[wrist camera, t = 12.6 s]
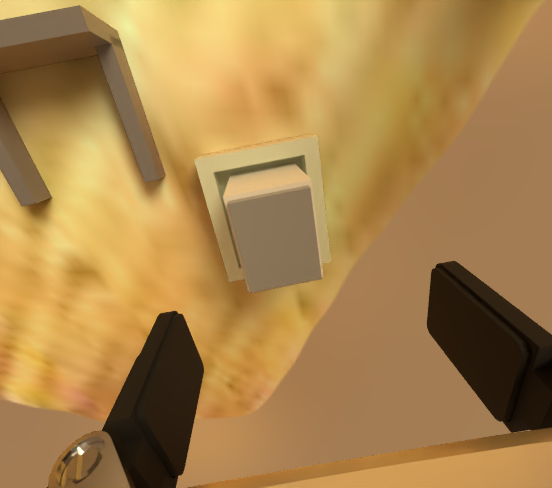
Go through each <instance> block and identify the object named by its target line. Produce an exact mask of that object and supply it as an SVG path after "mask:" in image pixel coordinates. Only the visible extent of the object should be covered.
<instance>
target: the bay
mask: <svg viewBox="0 0 552 488" xmlns="http://www.w3.org/2000/svg"><path fill="white" fill-rule="evenodd" d="M95 55H98V58H99V60H100V63H101V66H102V68H103V71H104V74H105V77H106V79H107V82H108V85H109V87H110V90H111V93H112V95H113V98H114V101H115V104H116V106H117V109H118V112H119V114H120V117H121V120H122V122H123V125H124V128H125V131H126V133H127V136H128V139H129V141H130V144H131V147H132V149H133V152H134V155H135V158H136V160H137V163H138V166H139V168H140V171H141V174H142V176H143V179H144V182H149V181H155V180H159V179H161V178H162V177H164V176H165V172H164V169H163V166H162V163H161V160H160V157H159V154H158V151H157V148H156V145H155V142H154V139H153V136H152V133H151V130H150V127H149V124H148V121H147V118H146V115H145V112H144V109H143V106H142V103H141V100H140V97H139V94H138V91H137V88H136V85H135V82H134V79H133V76H132V73H131V70H130V67H129V65H128V62H127V59H126V56H125V53H124V50H123V47H122V44H121V41H120V38H119V35H118V32H117V30H115V29H114V28H112V27H111V26H109V25H108V24H106V23H105V22H104V21H102V20H101V19H99V18H98V17H96V16H95V15H93V14H92V13H90V12H89V11H87V10H86V9H84V8H83V7H81V6H80V5H79V6H74V7H69V8H63V9H58V10H53V11H47V12H42V13H37V14H31V15H26V16H21V17H15V18H10V19H5V20H0V73H5V72H11V71H16V70H21V69H26V68H32V67H37V66H42V65H48V64H53V63H58V62H64V61H69V60H74V59H79V58H85V57H90V56H95ZM0 169H1V171H2V173H3V175H4V176H5V178H6V180H7V182H8V183H9V185H10V187H11V189H12V190H13V192H14V194H15V196H16V197H17V199H18V201H19V203H20V204H21V206H26V205H31V204H36V203H39V202H41V201H44V200H46V199H49V198H51V195H50V193H49V191H48V189H47V187H46V185H45V183H44V181H43V180H42V178H41V176H40V174H39V172H38V170H37V168H36V166H35V164H34V162H33V160H32V158H31V156H30V155H29V153H28V151H27V149H26V147H25V145H24V143H23V141H22V139H21V137H20V135H19V133H18V131H17V130H16V128H15V126H14V124H13V122H12V120H11V118H10V116H9V114H8V112H7V110H6V108H5V107H4V105H3V103H2V101H1V99H0Z"/></svg>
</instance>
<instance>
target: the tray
mask: <svg viewBox="0 0 552 488" xmlns="http://www.w3.org/2000/svg"><path fill="white" fill-rule="evenodd" d="M194 162H195V165H196V169H197V172H198V176H199V179H200V183H201V186H202V190H203V193H204V196H205V200H206V203H207V207H208V210H209V214H210V217H211V221H212V224H213V228H214V231H215V235H216V238H217V242H218V245H219V249H220V252H221V256H222V259H223V263H224V266H225V270H226V273H227V277H228V280H229V282H233V281H238V280H243V279H244V276H243V272H242V268H241V264H240V260H239V257H238V253H237V249H236V245H235V241H234V237H233V234H232V230H231V226H230V222H229V218H228V215H227V211H226V207H225V203H224V199H223V195H224V192H225V189H226V186H227V183H228V180H229V177H230V174H235V173H240V172H245V171H250V170H255V169H260V168H265V167H271V166H276V165H281V164H286V163H291V162H293V163H295V164H296V165H297V166H298V167H299V168H300V169H301V170H302V171H303V172H304V173H305V174H306V175H307V176H308V177H309V178H310V179H311V180H312V188H313V196H314V204H315V212H316V220H317V228H318V236H319V244H320V252H321V260H322V264H324V263H329V262H331V257H330V247H329V238H328V228H327V219H326V209H325V200H324V190H323V181H322V171H321V162H320V152H319V143H318V136H316V135H312V134H307V135H302V136H296V137H291V138H286V139H281V140H276V141H271V142H265V143H260V144H255V145H250V146H245V147H240V148H234V149H229V150H224V151H219V152H214V153H209V154H203V155H200V156H199V157H197V158H196V159H194Z"/></svg>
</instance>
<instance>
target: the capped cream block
mask: <svg viewBox="0 0 552 488" xmlns="http://www.w3.org/2000/svg"><path fill="white" fill-rule="evenodd" d="M223 199H224V203H225V207H226V211H227V215H228V218H229V222H230V226H231V230H232V234H233V237H234V241H235V245H236V249H237V253H238V257H239V260H240V264H241V268H242V272H243V276H244V279H245V283H246V287H247V291H248V292H250V293H254V292H259V291H264V290H269V289H274V288H279V287H284V286H289V285H294V284H299V283H304V282H309V281H314V280H319V279H322V277H323V269H322V260H321V252H320V244H319V236H318V228H317V220H316V212H315V204H314V196H313V188H312V180H311V179H310V178H309V177H308V176H307V175H306V174H305V173H304V172H303V171H302V170H301V169H300V168H299V167H298V166H297V165H296V164H295V163H293V162H291V163H286V164H281V165H276V166H271V167H265V168H260V169H255V170H250V171H245V172H240V173H235V174H230V177H229V180H228V183H227V186H226V189H225V192H224V195H223Z"/></svg>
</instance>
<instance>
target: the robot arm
mask: <svg viewBox="0 0 552 488" xmlns="http://www.w3.org/2000/svg"><path fill="white" fill-rule="evenodd" d="M430 283H431V284H430V294H429V306H428V317H427V328H428V331H429V333H430V334H431V336H432V337H433V338H434V340H435V341H436V342H437V344H438V345H439V346H440V347H441V349H442V350H443V351H444V353H445V354H446V355H447V357H448V358H449V359H450V361H451V362H452V363H453V364H454V366H455V367H456V368H457V369H458V371H459V372H460V374H461V375H462V376H463V377H464V379H465V380H466V381H467V383H468V384H469V385H470V386H471V388H472V389H473V390H474V391H475V393H476V394H477V396H478V397H479V398H480V399H481V401H482V402H483V403H484V405H485V406H486V407H487V409H488V410H489V411H490V413H491V414H492V415H493V416H494V418H495V419H497V420H498V421H500V422H501V421H503V423H504V424H505V425H506V427H508V429H509V430H510V432H512V433H510V434H503V435H496V436H490V437H483V438H477V439H471V440H465V441H458V442H452V443H446V444H440V445H434V446H428V447H421V448H415V449H409V450H403V451H397V452H391V453H385V454H379V455H372V456H366V457H360V458H354V459H349V460H342V461H336V462H331V463H325V464H319V465H313V466H307V467H301V468H295V469H290V470H283V471H278V472H272V473H266V474H260V475H254V476H249V477H243V478H237V479H231V480H225V481H220V482H215V483H209V484H204V485H199V486H194V487H188V488H552V335H551V334H550V333H548V332H547V331H546V330H545V329H543V328H542V327H541V326H539V325H538V324H537V323H535V322H534V321H533V320H532V319H530V318H529V317H528V316H526V315H525V314H524V313H523V312H521V311H520V310H519V309H517V308H516V307H515V306H513V305H512V304H511V303H509V302H508V301H507V300H506V299H504V298H503V297H502V296H500V295H499V294H498V293H497V292H495V291H494V290H493V289H491V288H490V287H489V286H487V285H486V284H485V283H484V282H482V281H481V280H480V279H478V278H477V277H476V276H474V275H473V274H472V273H471V272H469V271H468V270H467V269H465V268H464V267H463V266H461V265H460V264H459V263H457V262H456V261H451V262H445V263H439V264H437V265H436V268H435V269H432V272H431V282H430ZM203 373H204V367H203V363H202V360H201V358H200V355H199V353H198V350H197V348H196V346H195V343H194V341H193V338H192V336H191V333H190V331H189V328H188V326H187V323H186V321H185V319H184V316H183V315H182V314H178V312H177V311H172V312H166V313H161V314H159V316H158V317H157V319H156V322H155V324H154V326H153V328H152V330H151V332H150V334H149V336H148V338H147V340H146V343H145V345H144V347H143V349H142V351H141V353H140V355H139V356H138V357H137V359H136V360H135V363H134V365H133V367H132V369H131V371H130V373H129V375H128V377H127V379H126V381H125V383H124V385H123V387H122V390H121V392H120V394H119V396H118V398H117V400H116V402H115V404H114V406H113V408H112V410H111V412H110V415H109V417H108V419H107V421H106V423H105V425H104V427H103V429H102V431H94V432H91V433H88V434H86V435H84V436H82V437H81V438H79V439H77V440H76V441H75V442H74V443H72V444H71V445H70V446H69V447H68V448H67V449H66V450H65V451H64V452H63V453H62V454H61V455H60V457H59V458H58V460H57V461H56V463H55V464H54V466H53V468H52V470H51V473H50V475H49V482H48V487H47V488H176V484H177V479H178V475H182V474H183V471H184V467H185V463H186V458H187V453H188V448H189V443H190V438H191V433H192V428H193V423H194V419H195V414H196V409H197V404H198V399H199V394H200V389H201V384H202V379H203ZM525 430H531V431H525ZM519 431H524V432H519ZM513 432H517V433H513Z"/></svg>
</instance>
